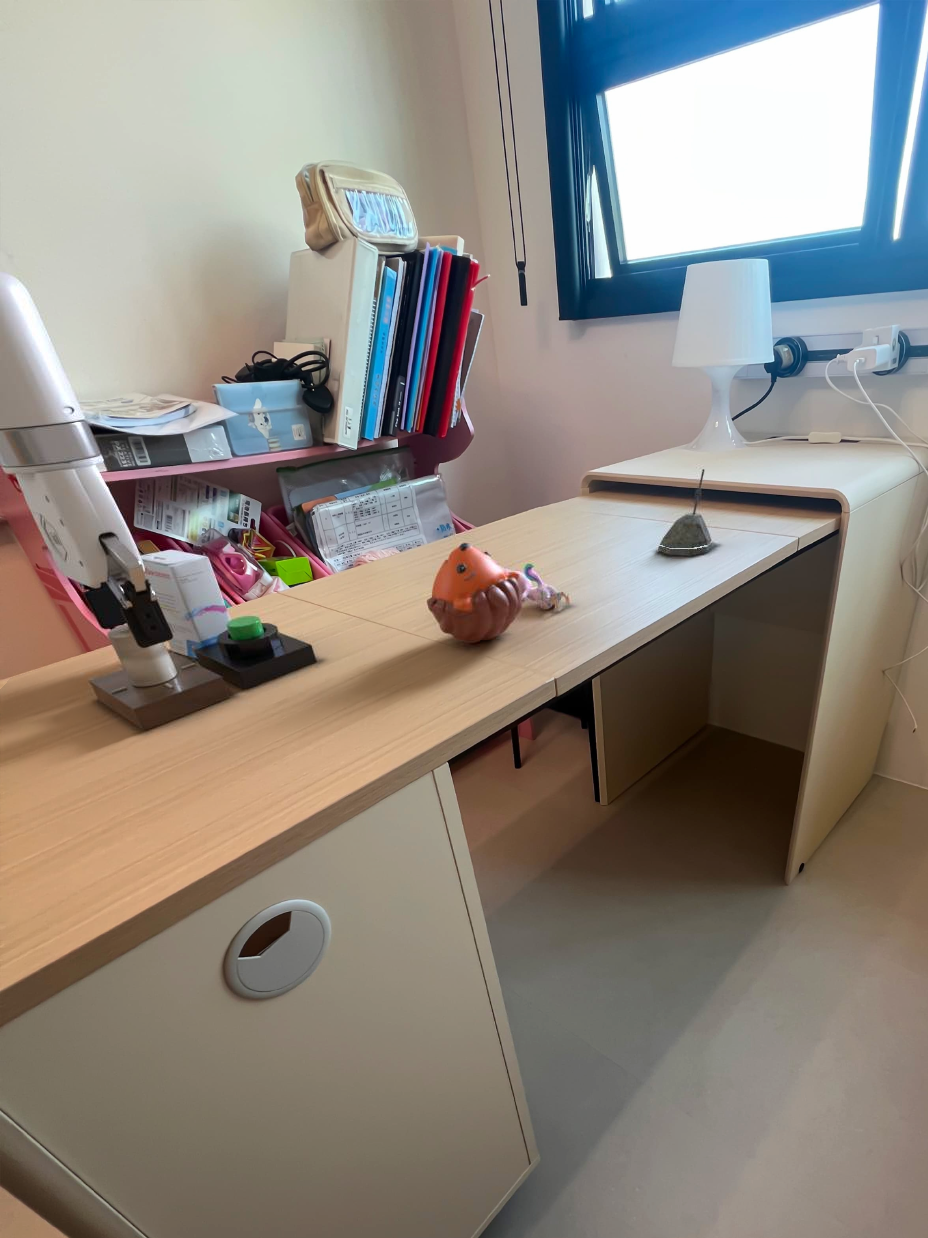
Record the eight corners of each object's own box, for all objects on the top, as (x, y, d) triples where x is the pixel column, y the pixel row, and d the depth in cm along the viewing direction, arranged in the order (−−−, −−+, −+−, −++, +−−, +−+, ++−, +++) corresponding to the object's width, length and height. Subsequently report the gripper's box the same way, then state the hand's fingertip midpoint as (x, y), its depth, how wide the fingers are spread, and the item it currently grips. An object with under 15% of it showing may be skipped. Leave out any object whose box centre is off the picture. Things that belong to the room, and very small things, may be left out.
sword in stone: (687, 559, 107) (691, 480, 100) (651, 551, 112) (652, 475, 105) (724, 546, 113) (729, 470, 106) (688, 539, 117) (691, 466, 110)
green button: (225, 637, 76) (220, 622, 75) (254, 627, 78) (249, 613, 77) (241, 643, 74) (235, 628, 73) (270, 633, 76) (265, 619, 75)
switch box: (200, 666, 78) (187, 635, 76) (269, 642, 84) (259, 612, 82) (245, 689, 73) (232, 656, 70) (317, 661, 78) (307, 629, 76)
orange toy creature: (477, 616, 89) (464, 529, 82) (541, 626, 85) (533, 535, 78) (419, 648, 81) (399, 553, 74) (487, 661, 76) (472, 562, 70)
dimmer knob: (124, 680, 70) (98, 628, 66) (166, 666, 73) (143, 615, 69) (141, 690, 68) (115, 637, 64) (184, 675, 70) (161, 623, 67)
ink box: (245, 649, 82) (209, 553, 76) (208, 663, 79) (167, 565, 72) (207, 638, 86) (169, 546, 80) (170, 651, 83) (128, 556, 76)
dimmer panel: (99, 700, 72) (87, 678, 70) (181, 671, 77) (172, 650, 76) (144, 731, 66) (132, 707, 64) (230, 697, 71) (221, 675, 70)
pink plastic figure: (575, 611, 93) (498, 579, 99) (579, 571, 89) (498, 539, 95) (548, 625, 89) (468, 590, 95) (550, 583, 85) (467, 550, 91)
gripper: (-31, 450, 60) (67, 629, 69) (29, 460, 50) (132, 664, 60) (61, 439, 64) (141, 608, 74) (131, 446, 55) (211, 638, 65)
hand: (137, 633), depth 67 cm, fingers open, 9 cm apart
